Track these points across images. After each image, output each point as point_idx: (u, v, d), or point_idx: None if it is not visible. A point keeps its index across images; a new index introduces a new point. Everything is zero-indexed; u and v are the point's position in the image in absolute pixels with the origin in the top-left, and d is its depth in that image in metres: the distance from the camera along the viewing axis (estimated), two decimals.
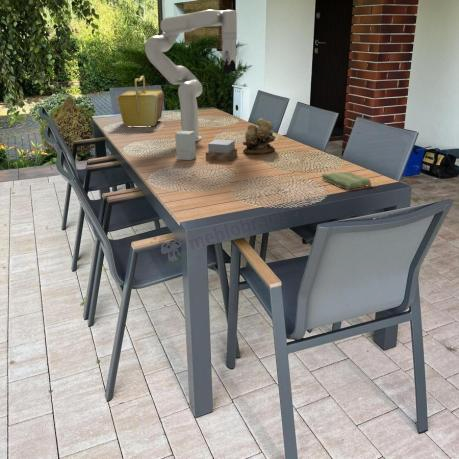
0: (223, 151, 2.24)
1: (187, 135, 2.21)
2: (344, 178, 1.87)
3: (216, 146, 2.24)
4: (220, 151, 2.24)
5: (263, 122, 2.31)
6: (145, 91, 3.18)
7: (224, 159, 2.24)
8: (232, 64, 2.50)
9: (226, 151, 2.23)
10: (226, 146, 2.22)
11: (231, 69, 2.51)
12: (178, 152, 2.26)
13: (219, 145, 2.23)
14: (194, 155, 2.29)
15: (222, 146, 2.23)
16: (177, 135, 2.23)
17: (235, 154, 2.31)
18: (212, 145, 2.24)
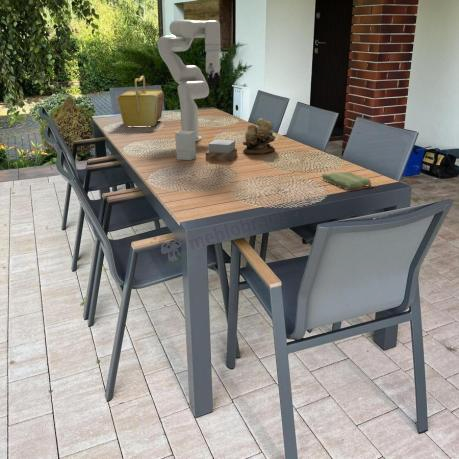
0: (223, 151, 2.24)
1: (187, 135, 2.21)
2: (344, 178, 1.87)
3: (216, 146, 2.24)
4: (220, 151, 2.24)
5: (263, 122, 2.31)
6: (145, 91, 3.18)
7: (224, 159, 2.24)
8: (216, 77, 2.39)
9: (226, 151, 2.23)
10: (226, 146, 2.22)
11: (215, 82, 2.40)
12: (178, 152, 2.26)
13: (219, 145, 2.23)
14: (194, 155, 2.29)
15: (222, 146, 2.23)
16: (177, 135, 2.23)
17: (235, 155, 2.31)
18: (212, 145, 2.24)
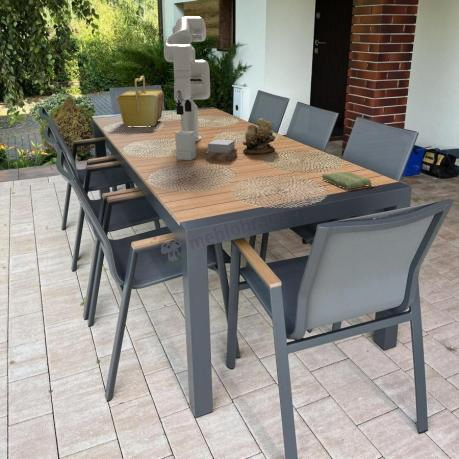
0: (223, 151, 2.24)
1: (187, 135, 2.21)
2: (344, 178, 1.87)
3: (216, 146, 2.24)
4: (220, 151, 2.24)
5: (263, 122, 2.31)
6: (145, 91, 3.18)
7: (224, 159, 2.24)
8: (187, 104, 2.24)
9: (226, 151, 2.23)
10: (226, 146, 2.22)
11: (187, 109, 2.25)
12: (178, 152, 2.26)
13: (219, 145, 2.23)
14: (194, 155, 2.29)
15: (222, 146, 2.23)
16: (177, 135, 2.23)
17: (234, 155, 2.30)
18: (212, 145, 2.24)
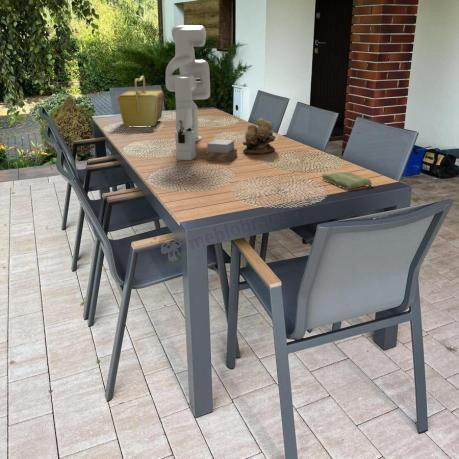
0: (222, 151, 2.24)
1: (187, 135, 2.21)
2: (344, 178, 1.87)
3: (215, 146, 2.24)
4: (219, 151, 2.24)
5: (263, 122, 2.31)
6: (145, 91, 3.18)
7: (224, 159, 2.24)
8: None
9: (225, 151, 2.23)
10: (225, 146, 2.22)
11: None
12: (178, 152, 2.26)
13: (218, 145, 2.23)
14: (194, 155, 2.29)
15: (221, 146, 2.23)
16: (177, 135, 2.23)
17: (234, 155, 2.30)
18: (211, 145, 2.24)
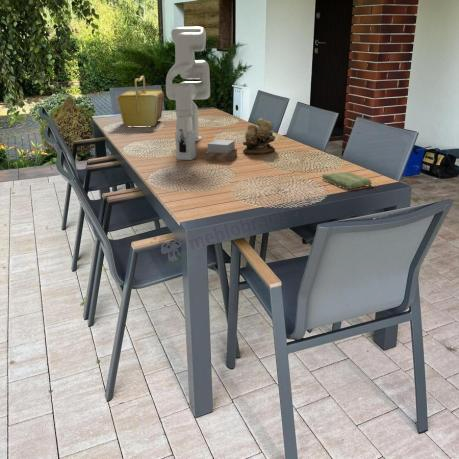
0: (222, 151, 2.23)
1: (187, 135, 2.21)
2: (345, 178, 1.87)
3: (215, 146, 2.24)
4: (219, 151, 2.24)
5: (263, 122, 2.31)
6: (145, 91, 3.18)
7: (224, 159, 2.23)
8: None
9: (225, 151, 2.23)
10: (225, 146, 2.22)
11: None
12: (178, 152, 2.26)
13: (218, 145, 2.23)
14: (194, 155, 2.29)
15: (221, 146, 2.23)
16: None
17: (234, 155, 2.30)
18: (212, 145, 2.24)
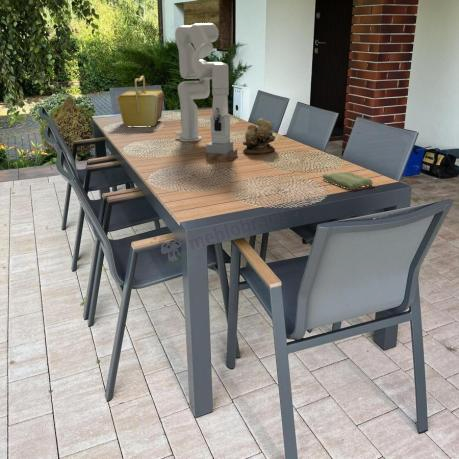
0: (221, 152, 2.23)
1: (223, 118, 2.20)
2: (346, 178, 1.87)
3: (214, 147, 2.23)
4: (218, 152, 2.24)
5: (263, 122, 2.31)
6: (145, 91, 3.18)
7: (224, 160, 2.23)
8: None
9: (224, 152, 2.23)
10: (224, 147, 2.22)
11: None
12: (213, 136, 2.24)
13: (217, 146, 2.23)
14: (228, 139, 2.28)
15: (220, 147, 2.22)
16: (212, 118, 2.21)
17: (235, 155, 2.30)
18: (210, 146, 2.24)
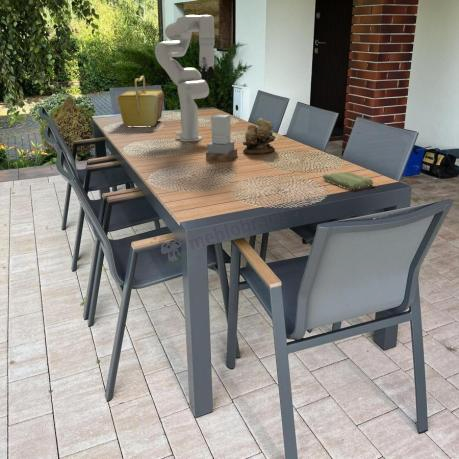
0: (222, 152, 2.23)
1: (223, 118, 2.18)
2: (346, 178, 1.86)
3: (215, 147, 2.23)
4: (219, 152, 2.23)
5: (263, 122, 2.31)
6: (145, 91, 3.18)
7: (224, 159, 2.23)
8: (211, 70, 2.43)
9: (225, 152, 2.22)
10: (225, 147, 2.21)
11: (210, 76, 2.44)
12: (213, 136, 2.23)
13: (218, 146, 2.22)
14: (229, 139, 2.26)
15: (221, 147, 2.22)
16: (213, 118, 2.20)
17: (235, 155, 2.30)
18: (211, 145, 2.23)
